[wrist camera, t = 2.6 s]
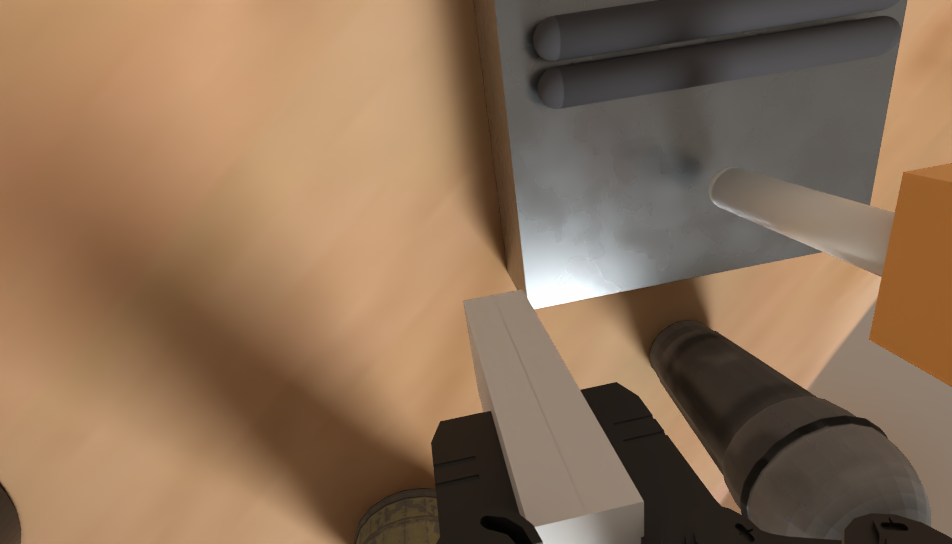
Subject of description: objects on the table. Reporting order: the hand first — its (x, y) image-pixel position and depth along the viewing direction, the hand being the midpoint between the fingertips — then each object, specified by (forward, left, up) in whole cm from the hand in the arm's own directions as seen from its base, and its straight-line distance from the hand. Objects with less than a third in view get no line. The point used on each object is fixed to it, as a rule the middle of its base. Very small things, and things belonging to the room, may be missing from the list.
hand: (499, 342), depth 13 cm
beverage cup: (+14, -13, -16) cm, 25 cm away
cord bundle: (+12, +6, -10) cm, 17 cm away
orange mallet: (+12, 0, -9) cm, 15 cm away
